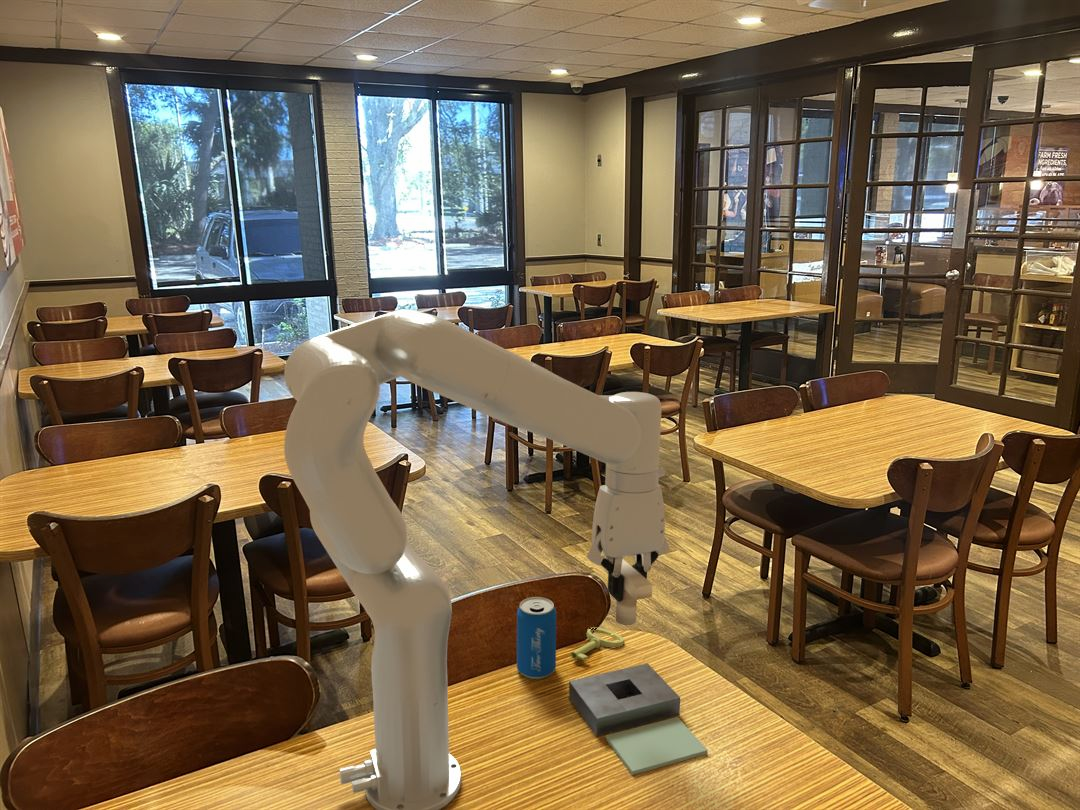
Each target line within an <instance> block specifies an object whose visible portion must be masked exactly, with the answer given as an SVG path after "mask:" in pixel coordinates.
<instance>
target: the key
mask: <svg viewBox="0 0 1080 810" xmlns="http://www.w3.org/2000/svg"><path fill="white" fill-rule="evenodd" d="M590 628H591V629H592V628H594V629H595V628H597V629H596V630H594V629H593V630H591V629H589V628H587V632H586V638H587V639H588V640H589V642H587V644H584V645H583V646H582V645H581V647H579V648H577V649H576V650H574V651H572V652H571V653H570V656H571V659H573V660H575V659H579V660H582V661H585V660H588V655H586V653H588V652H590V651H592V650H593V649H599V648H600V647H601V646H602V647H605V648H608V647H618V648H621V647H622V646H623V643H624V644H625V639H624V637H622V636H621V635H620V634H617V633H616V634H614V633H615V632H613V631H610V630H608V629H605V628H602V627H601V628H600V627H590ZM593 631H594V632H593ZM594 633H596V634H597V633H598V634H604V635H606V636H610V635H611V634H614V635H611V636H610V637H612V636H613V638H614V639H616V638H617V639H618V640H619V641H618V640H617V639H616V640H617V641H612V640H607V639H604V638H601V637H599V636H598V635H595V634H594ZM596 638H597V639H596ZM620 646H621V647H620Z"/></svg>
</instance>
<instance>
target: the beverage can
mask: <svg viewBox="0 0 1080 810" xmlns="http://www.w3.org/2000/svg"><path fill="white" fill-rule="evenodd" d="M556 653H557V610H556V608H555V606H554V602H553V601H552V600H551V599H549V598H546V597H541V596H534V597H533V596H531V597H527V598H525V599H523V600H522V601H520V603H519V607H518V608H517V611H516V669H517V670H518V672H519V674H521V675H523V676H524V677H526V678H529V679H532V680H542V679H545V678H546V677H549V676H550V675H551V674H552V673H554V672H555V670H556V666H557V665H556V663H557V662H556V661H557V659H556V658H557V655H556Z"/></svg>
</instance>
